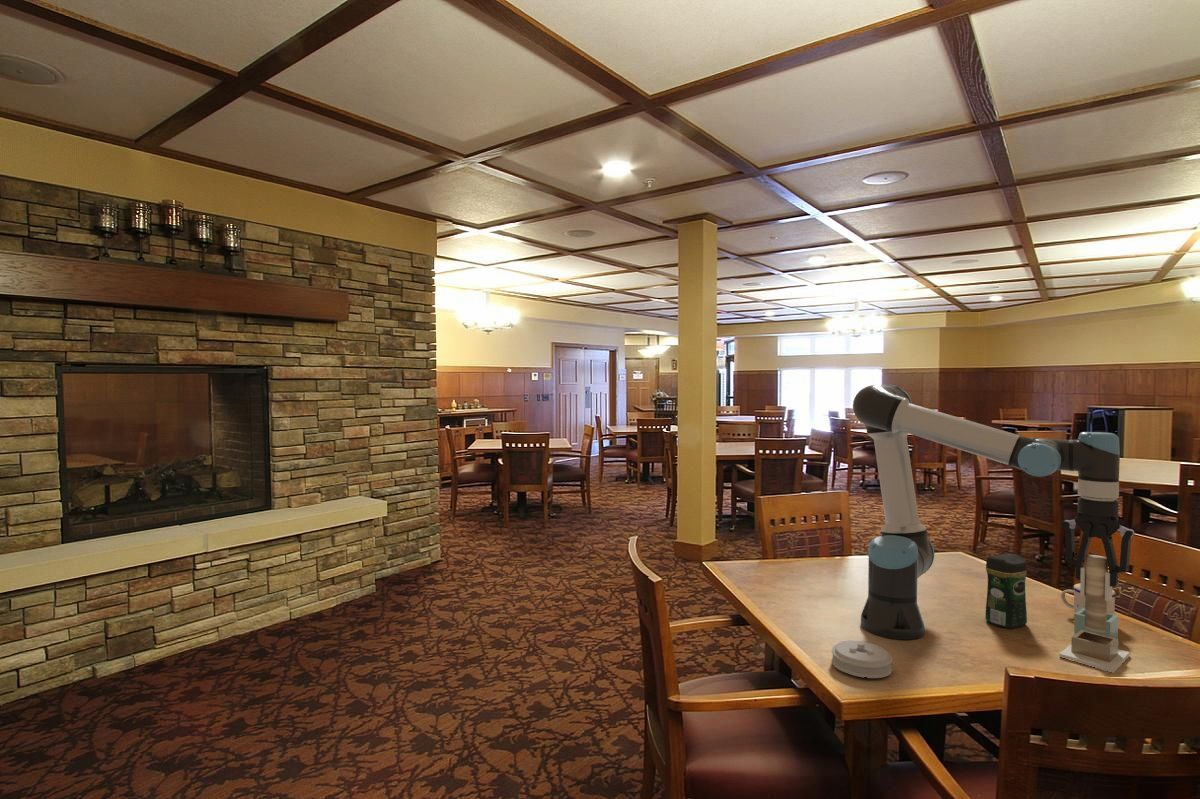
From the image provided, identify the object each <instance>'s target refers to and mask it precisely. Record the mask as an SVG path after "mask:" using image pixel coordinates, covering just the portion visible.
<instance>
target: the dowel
mask: <svg viewBox="0 0 1200 799" xmlns="http://www.w3.org/2000/svg"><path fill="white" fill-rule="evenodd" d="M1085 566H1086V582H1085V628H1087V629H1089V630H1092V631H1096V632H1106V623H1107V601H1106V600H1105V572H1107V571H1108V570H1109V566H1108V562H1107V558H1106V556H1102V555H1097V554H1087V555H1086V559H1085Z"/></svg>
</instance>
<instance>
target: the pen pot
mask: <svg viewBox="0 0 1200 799" xmlns="http://www.w3.org/2000/svg"><path fill="white" fill-rule="evenodd" d="M1080 630H1084V631H1088V632H1092V633H1096V634H1100V635H1103V636H1107V637H1111V638H1115V639H1119V615H1118V614H1115V613H1114V614H1109V613H1107V623H1106V632H1096V631H1092V630H1089V629H1087V628H1085V608H1082V609H1081V610H1079V611H1078V612H1077V613H1075V619H1074V630H1073V631H1074V633H1073V636H1074V635H1075V634H1076V633H1077V632H1079V631H1080Z"/></svg>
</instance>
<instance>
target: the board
mask: <svg viewBox="0 0 1200 799" xmlns="http://www.w3.org/2000/svg"><path fill="white" fill-rule="evenodd" d="M1130 653H1131V652H1130V651H1126V650H1123V649H1119V648H1118V655H1117V656H1116V657H1115V658H1114V659H1113V660H1112V661H1111V662H1106V661H1103V660H1099V659H1096V658H1092V657H1088V656H1085V655H1081V654H1078V653H1074V652H1071V644H1069V645H1068V646H1067V647H1065V649H1063V650H1062V651H1060V653H1059V656H1060V657H1063V658H1067V659H1071V660H1074V661H1077V662H1081V663H1083V664H1087V665H1090V666H1092V667H1091V668H1093V667H1095V668H1094V669H1097V668H1099V669H1098V670H1100V669H1101V671H1104V672H1107V671H1108V672H1107V673H1110V672H1112V673H1111V674H1114V673H1115V672H1116V671H1117V670H1118V669H1119V668H1120V667H1121V666H1122V665H1123V664H1124V662H1126V661H1125V660H1126V659H1127V660H1128V659H1129V658H1130ZM1122 663H1123V664H1122ZM1083 664H1082V665H1083ZM1090 666H1089V667H1090Z"/></svg>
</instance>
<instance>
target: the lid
mask: <svg viewBox="0 0 1200 799" xmlns="http://www.w3.org/2000/svg"><path fill="white" fill-rule="evenodd" d="M831 654H832V657H831V664H832V665H833V666H834V667H835V668H836V669H837V670H839V671H841V672H843V673H846V674H849V675H852V676H855V677H860V678H864V677H867V679H880V678H881V679H882V678H885V677H888V676H890V675H891V674H892V672H893V667H892V665H891V664H892V662H893V657H892V655H891V654H890V653H889V652H888V651H887V650H886V649H884V648H883V647H881V646H880V645H877V644H874V643H871V642H868V641H863V640H853V639H852V640H851V639H850V640H849V639H848V640H843V641H839V642H838V643H836V644H834V645H832V647H831Z"/></svg>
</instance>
